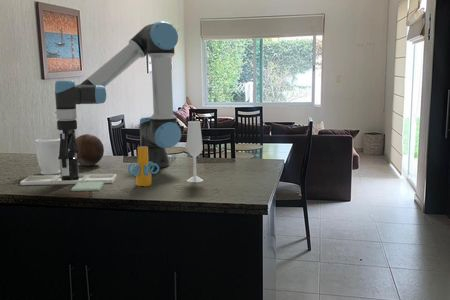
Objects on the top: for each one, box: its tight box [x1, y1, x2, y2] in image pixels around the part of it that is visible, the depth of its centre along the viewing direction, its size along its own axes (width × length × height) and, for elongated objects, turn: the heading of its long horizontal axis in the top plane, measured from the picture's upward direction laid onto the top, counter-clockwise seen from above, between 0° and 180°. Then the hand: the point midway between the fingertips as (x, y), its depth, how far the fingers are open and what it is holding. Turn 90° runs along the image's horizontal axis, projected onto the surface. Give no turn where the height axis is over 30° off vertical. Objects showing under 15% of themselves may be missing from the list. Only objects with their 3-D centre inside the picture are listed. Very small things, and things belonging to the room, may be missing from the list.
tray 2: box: [83, 173, 118, 184], centre depth 188 cm, size 11×11×1 cm
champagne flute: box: [185, 120, 204, 183], centre depth 186 cm, size 7×7×24 cm
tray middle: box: [51, 174, 88, 186], centre depth 187 cm, size 11×11×1 cm
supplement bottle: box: [60, 150, 80, 181], centre depth 186 cm, size 7×7×12 cm
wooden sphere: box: [75, 133, 105, 167], centre depth 219 cm, size 15×15×15 cm
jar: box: [35, 137, 61, 175], centre depth 202 cm, size 11×10×15 cm
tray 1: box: [19, 174, 59, 186], centre depth 186 cm, size 11×11×1 cm
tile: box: [70, 182, 105, 192], centre depth 176 cm, size 10×10×1 cm
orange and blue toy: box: [127, 145, 160, 187], centre depth 179 cm, size 12×10×15 cm
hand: (69, 172), depth 187 cm, fingers open, 13 cm apart
